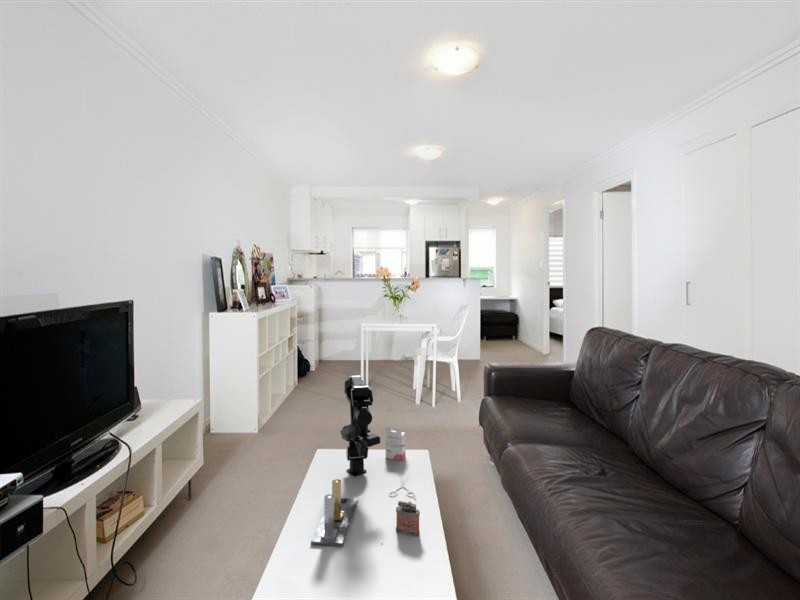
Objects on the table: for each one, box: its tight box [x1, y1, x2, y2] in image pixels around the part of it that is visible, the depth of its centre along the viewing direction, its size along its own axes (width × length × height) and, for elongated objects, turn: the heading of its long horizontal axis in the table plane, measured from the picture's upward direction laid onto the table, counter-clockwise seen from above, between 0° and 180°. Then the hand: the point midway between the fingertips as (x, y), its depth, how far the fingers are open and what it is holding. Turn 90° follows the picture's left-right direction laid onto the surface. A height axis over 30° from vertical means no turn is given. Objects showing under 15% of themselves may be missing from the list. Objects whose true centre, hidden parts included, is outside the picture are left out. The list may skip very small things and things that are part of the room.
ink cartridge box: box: [385, 426, 406, 461], centre depth 182 cm, size 9×5×15 cm, turn 68°
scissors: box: [388, 474, 417, 501], centre depth 157 cm, size 11×1×20 cm
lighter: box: [395, 500, 421, 538], centre depth 127 cm, size 8×3×10 cm, turn 71°
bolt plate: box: [310, 493, 359, 548], centre depth 133 cm, size 25×10×14 cm, turn 175°
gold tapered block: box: [331, 478, 344, 520], centre depth 133 cm, size 4×4×12 cm
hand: (360, 455), depth 154 cm, fingers closed
